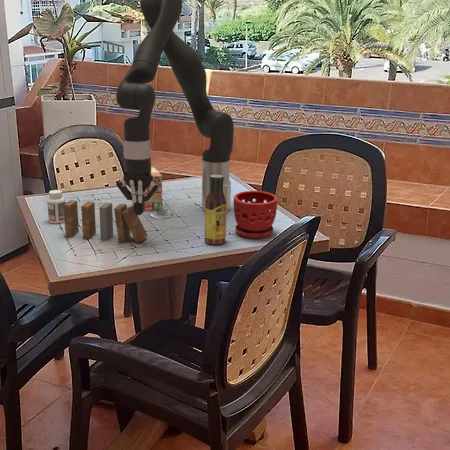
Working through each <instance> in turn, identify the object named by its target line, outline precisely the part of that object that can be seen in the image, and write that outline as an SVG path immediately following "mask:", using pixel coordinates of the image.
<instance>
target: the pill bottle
mask: <svg viewBox="0 0 450 450" xmlns="http://www.w3.org/2000/svg"><path fill="white" fill-rule="evenodd" d="M46 202H47V212H48V213H47V215H48V222H49V223H51V224H62V223H65V219H64V204H66V200H65V198H64V197H63V191H62V190H60V189H53V190H49V192H48V198H47V201H46Z"/></svg>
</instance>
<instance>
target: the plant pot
mask: <svg viewBox="0 0 450 450" xmlns="http://www.w3.org/2000/svg"><path fill="white" fill-rule="evenodd" d="M253 200H255V201H253ZM265 201H266V202H265ZM277 209H278V197H277V196H276V195H275V194H274V193H271V192H267V191H263V190H245V191H240V192H238V193H236V194H234V196H233V213H234V219H235V222H236V225H235V228H234V229H235V231H236V233H237V234H238V235H240V236H242V237H246V238H250V239H262V238H265V237H269V236H270V235H272V234H273V232H274V226H273V224H274V221H275V220H276V219H275V218H276V216H277Z"/></svg>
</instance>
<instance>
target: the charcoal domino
mask: <svg viewBox="0 0 450 450" xmlns="http://www.w3.org/2000/svg"><path fill="white" fill-rule="evenodd" d="M98 210H99V226H100V227H99V231H100V241H105V242H106V241H109V240H110V239H111V238H112V237H113V236H114V217H113V213H114V212H113V202H104V203H103V204H102V205H100V206H99V209H98Z"/></svg>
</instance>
